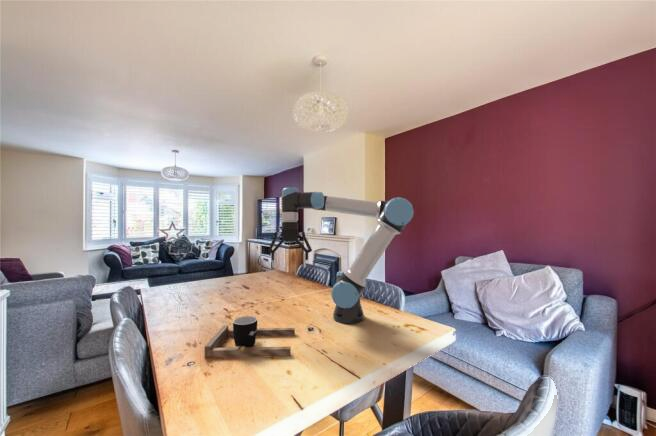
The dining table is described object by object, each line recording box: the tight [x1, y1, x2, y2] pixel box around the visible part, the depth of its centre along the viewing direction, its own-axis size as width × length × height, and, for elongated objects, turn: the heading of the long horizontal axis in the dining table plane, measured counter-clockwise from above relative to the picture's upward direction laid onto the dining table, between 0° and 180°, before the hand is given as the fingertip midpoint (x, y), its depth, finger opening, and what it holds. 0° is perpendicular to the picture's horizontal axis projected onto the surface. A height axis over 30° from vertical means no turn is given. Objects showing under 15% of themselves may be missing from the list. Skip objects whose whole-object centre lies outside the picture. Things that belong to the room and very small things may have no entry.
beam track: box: [204, 324, 296, 359], centre depth 105 cm, size 30×19×4 cm, turn 92°
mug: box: [232, 315, 258, 347], centre depth 105 cm, size 12×9×10 cm
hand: (290, 267), depth 124 cm, fingers open, 13 cm apart
